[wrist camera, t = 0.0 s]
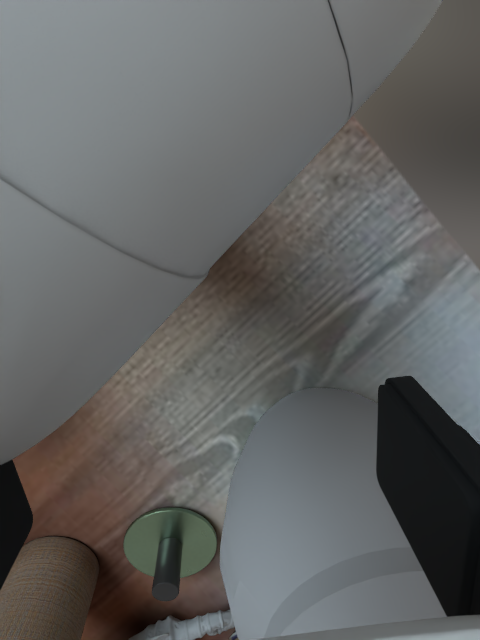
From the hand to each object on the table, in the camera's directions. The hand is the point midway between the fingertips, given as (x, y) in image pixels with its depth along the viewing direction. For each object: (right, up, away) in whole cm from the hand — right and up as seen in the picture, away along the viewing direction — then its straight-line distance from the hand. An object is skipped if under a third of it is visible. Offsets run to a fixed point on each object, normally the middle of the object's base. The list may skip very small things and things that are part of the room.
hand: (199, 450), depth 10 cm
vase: (+8, -8, +34) cm, 36 cm away
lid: (-7, -23, +38) cm, 45 cm away
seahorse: (+1, -35, +43) cm, 56 cm away
